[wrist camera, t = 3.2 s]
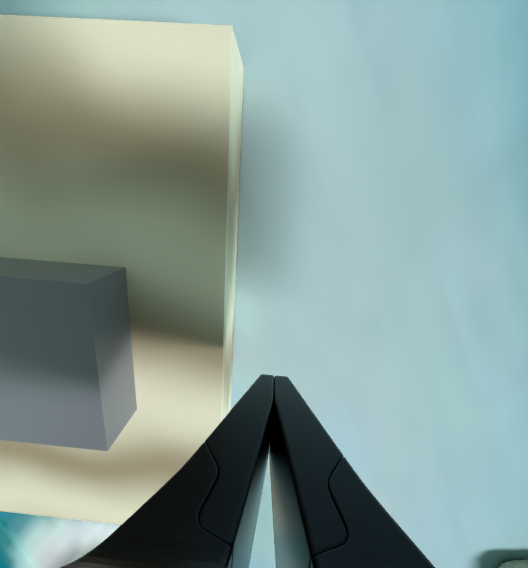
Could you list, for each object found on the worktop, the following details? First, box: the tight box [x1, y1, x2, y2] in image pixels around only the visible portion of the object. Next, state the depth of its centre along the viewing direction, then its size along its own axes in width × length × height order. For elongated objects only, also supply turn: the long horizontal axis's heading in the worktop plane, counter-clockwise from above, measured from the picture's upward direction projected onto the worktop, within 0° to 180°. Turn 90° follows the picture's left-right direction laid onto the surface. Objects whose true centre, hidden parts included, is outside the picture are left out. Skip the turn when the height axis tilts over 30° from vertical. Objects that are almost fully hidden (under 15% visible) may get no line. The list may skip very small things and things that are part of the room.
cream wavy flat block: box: [0, 14, 244, 525], centre depth 12 cm, size 20×14×2 cm
